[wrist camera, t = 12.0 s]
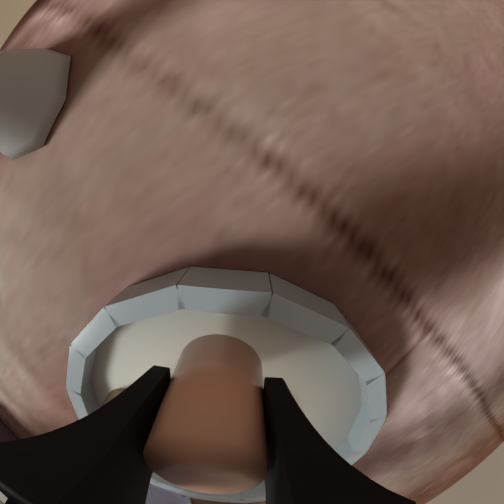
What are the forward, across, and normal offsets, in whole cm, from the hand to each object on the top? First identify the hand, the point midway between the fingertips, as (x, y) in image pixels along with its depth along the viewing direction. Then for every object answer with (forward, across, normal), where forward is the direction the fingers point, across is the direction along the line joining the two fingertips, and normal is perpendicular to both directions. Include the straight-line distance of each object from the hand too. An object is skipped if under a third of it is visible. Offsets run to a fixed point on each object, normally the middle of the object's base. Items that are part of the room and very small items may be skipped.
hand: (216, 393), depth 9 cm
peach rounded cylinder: (+1, 0, 0) cm, 1 cm away
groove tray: (+4, 0, +6) cm, 7 cm away
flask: (+5, +13, -12) cm, 19 cm away
